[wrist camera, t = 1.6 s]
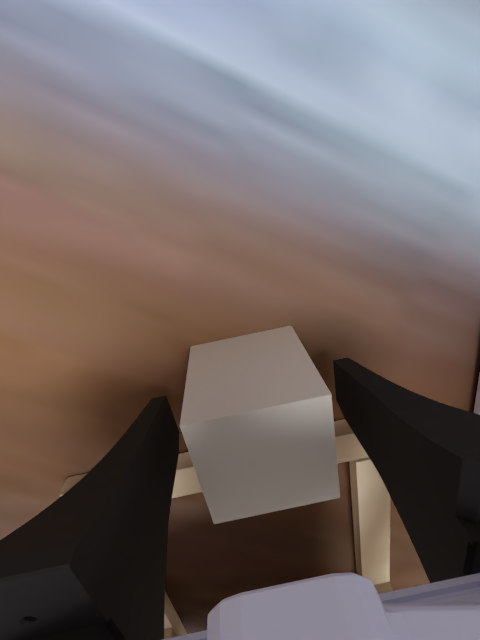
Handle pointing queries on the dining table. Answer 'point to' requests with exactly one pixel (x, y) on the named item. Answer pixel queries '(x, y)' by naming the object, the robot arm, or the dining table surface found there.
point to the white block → (259, 425)
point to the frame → (366, 509)
